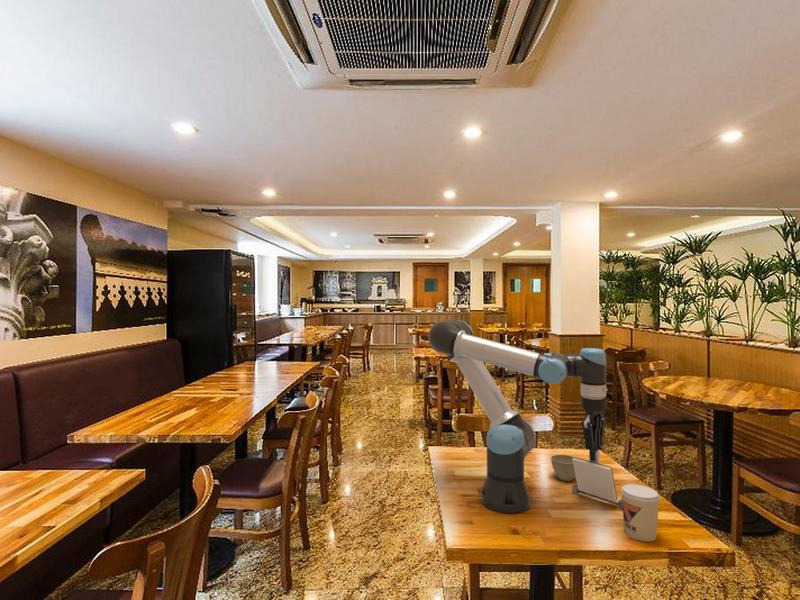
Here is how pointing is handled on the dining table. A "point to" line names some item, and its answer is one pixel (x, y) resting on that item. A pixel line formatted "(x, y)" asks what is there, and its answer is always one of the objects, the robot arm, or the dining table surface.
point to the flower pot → (563, 467)
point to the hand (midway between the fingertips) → (594, 469)
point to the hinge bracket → (576, 491)
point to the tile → (595, 479)
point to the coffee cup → (640, 511)
